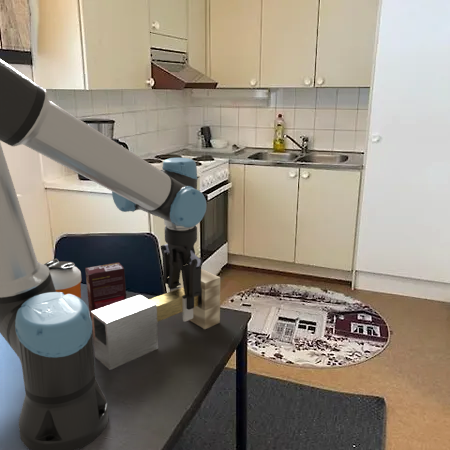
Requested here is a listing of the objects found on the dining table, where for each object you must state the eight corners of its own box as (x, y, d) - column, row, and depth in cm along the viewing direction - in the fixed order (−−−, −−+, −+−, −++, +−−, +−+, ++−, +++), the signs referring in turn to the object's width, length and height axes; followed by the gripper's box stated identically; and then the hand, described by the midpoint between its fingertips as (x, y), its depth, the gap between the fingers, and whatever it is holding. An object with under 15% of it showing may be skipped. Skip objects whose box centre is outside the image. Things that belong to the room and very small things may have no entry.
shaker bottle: (74, 355, 104) (67, 273, 98) (38, 350, 106) (28, 269, 100) (93, 334, 112) (87, 257, 106) (59, 330, 114) (51, 254, 108)
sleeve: (110, 370, 99) (106, 323, 96) (94, 356, 104) (91, 311, 100) (158, 348, 107) (156, 304, 104) (142, 337, 112) (140, 294, 108)
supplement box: (123, 318, 120) (120, 261, 115) (128, 327, 116) (125, 268, 111) (89, 325, 116) (84, 267, 112) (93, 335, 112) (88, 274, 108)
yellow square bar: (135, 330, 103) (134, 314, 102) (125, 323, 106) (125, 308, 105) (204, 303, 116) (204, 288, 115) (194, 297, 119) (193, 283, 118)
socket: (204, 329, 116) (204, 283, 112) (184, 317, 121) (184, 272, 117) (219, 322, 119) (220, 277, 115) (199, 311, 124) (199, 267, 121)
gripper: (217, 231, 104) (216, 323, 111) (171, 214, 116) (173, 299, 123) (191, 238, 99) (192, 335, 106) (146, 220, 111) (149, 308, 118)
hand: (181, 315), depth 115 cm, fingers closed on yellow square bar, 4 cm apart
